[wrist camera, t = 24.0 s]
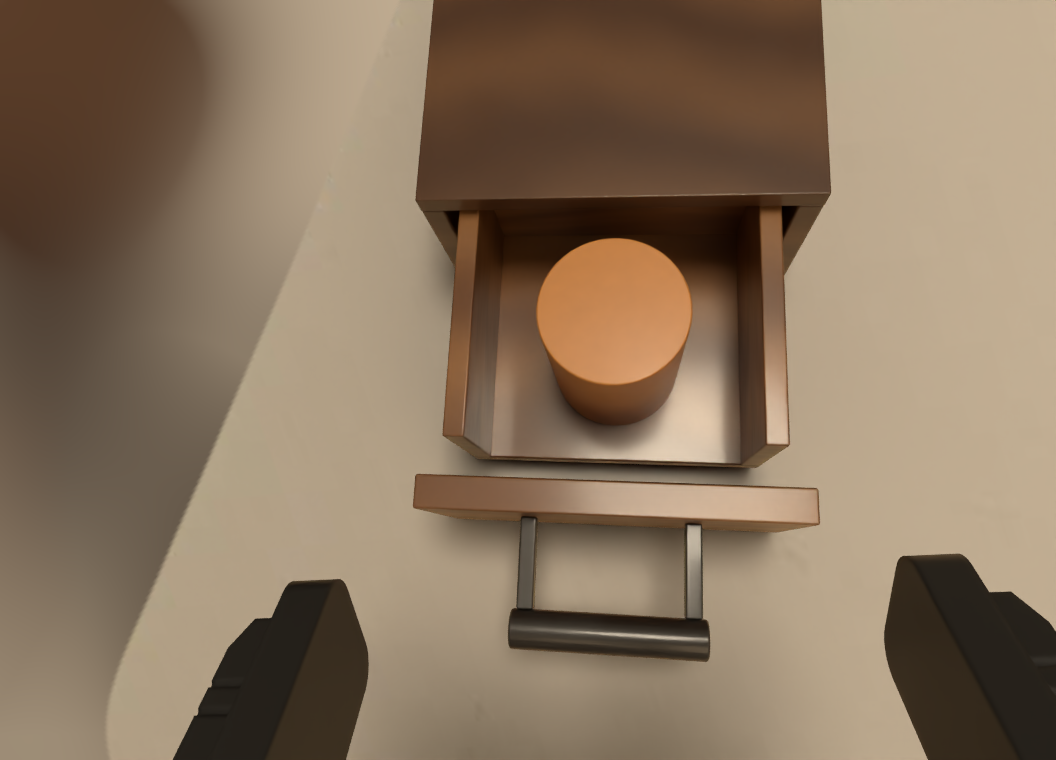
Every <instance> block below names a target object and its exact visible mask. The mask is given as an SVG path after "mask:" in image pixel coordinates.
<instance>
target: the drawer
mask: <svg viewBox="0 0 1056 760" xmlns="http://www.w3.org/2000/svg"><path fill="white" fill-rule="evenodd" d="M607 238H623V239H631V240H635V241H639V242H642V243H645V244H647V245H649V246H651V247H653V248H655V249H657V250H659V251H660V252H662V253H663V254H665V255H666V256H667V257H668V258H669V259H670V260H671V261H672V262H673V263H674V264H675V265H676V266H677V267H678V269H679V270H680V272H681V273H682V275H683V276H684V278H685V280H686V283H687V285H688V287H689V291H690V294H691V299H692V311H693V315H692V323H691V327H690V331H689V335H688V338H687V342H686V345H685V349H684V352H683V356H682V359H681V363H680V366H679V370H678V373H677V377H676V380H675V384H674V387H673V389H672V391H671V393H670V395H669V397H668V398H667V400H666V401H665V402H664V404H663V405H662V406H661V407H660V408H659V409H658V410H657V411H656V412H654V413H653V414H652V415H650V416H648V417H647V418H645V419H643V420H640V421H638V422H635V423H631V424H627V425H605V424H601V423H597V422H594V421H592V420H589V419H587V418H586V417H584V416H582V415H581V414H579V413H578V412H577V411H576V410H575V409H574V408H573V407H572V406H571V405H570V404H569V403H568V402H567V400H566V399H565V398H564V396H563V394H562V392H561V390H560V387H559V385H558V382H557V380H556V377H555V374H554V372H553V369H552V367H551V364H550V361H549V359H548V356H547V353H546V351H545V348H544V346H543V343H542V340H541V338H540V335H539V331H538V327H537V320H536V305H537V299H538V295H539V292H540V289H541V286H542V284H543V282H544V280H545V278H546V276H547V275H548V273H549V272H550V270H551V269H552V268H553V267H554V265H555V264H556V263H557V262H558V261H559V260H560V259H561V258H562V257H564V256H565V255H566V254H568V253H569V252H570V251H572V250H574V249H576V248H577V247H579V246H581V245H584V244H586V243H589V242H592V241H596V240H600V239H607ZM443 436H444V437H446V438H447V439H449V440H450V441H452V442H453V443H454V444H456V445H457V446H459V447H460V448H462V449H463V450H465V451H466V452H468V453H469V454H471V455H472V456H474V457H475V458H477V459H498V460H529V461H560V462H591V463H622V464H653V465H684V466H715V467H746V468H757V467H758V466H760V465H762V464H763V463H764V462H766V461H767V460H769V459H770V458H772V457H773V456H775V455H776V454H778V453H779V452H780V451H782V450H783V449H785V448H786V447H788V446H789V445H790V435H789V406H788V377H787V348H786V319H785V290H784V261H783V232H782V206H732V207H663V208H593V209H524V210H460V211H459V225H458V238H457V251H456V264H455V277H454V290H453V304H452V317H451V330H450V343H449V356H448V369H447V382H446V396H445V409H444V422H443ZM413 508H415V509H420V510H424V511H428V512H432V513H436V514H441V515H445V516H449V517H453V518H457V519H479V520H502V521H521V524H520V545H519V565H518V585H517V605H516V607H517V608H513V609H512V610H511V613H510V617H509V625H508V644H509V647H510V648H511V649H523V650H538V651H552V652H567V653H582V654H597V655H612V656H626V657H641V658H656V659H671V660H686V661H700V662H707V661H708V660H709V657H710V629H709V623H708V621H707V620H704V619H703V562H702V529H708V530H731V531H754V532H782V531H787V530H793V529H799V528H805V527H811V526H816V525H819V524H820V515H819V492H818V489H817V488H799V487H771V486H743V485H715V484H687V483H659V482H630V481H602V480H574V479H546V478H518V477H490V476H461V475H433V474H416V476H415V488H414V500H413ZM538 522H548V523H570V524H593V525H616V526H639V527H662V528H684V616H685V618H671V617H654V616H638V615H621V614H604V613H588V612H571V611H554V610H537V609H533V608H534V603H535V580H536V558H537V535H538Z"/></svg>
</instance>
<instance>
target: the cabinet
mask: <svg viewBox="0 0 1056 760" xmlns="http://www.w3.org/2000/svg"><path fill="white" fill-rule="evenodd" d="M830 194H831V182H830V162H829V143H828V124H827V104H826V85H825V66H824V46H823V27H822V8H821V0H434V2H433V13H432V24H431V35H430V46H429V57H428V68H427V79H426V90H425V101H424V112H423V123H422V134H421V145H420V156H419V166H418V177H417V188H416V199H415V200H416V202H417V204H418V205H419V207H420V209H421V211H423V213H424V215H425V217H426V218H427V220H428V222H429V223H430V225H431V227H432V229H433V230H434V232H435V234H436V235H437V237H438V239H439V241H440V242H441V244H442V246H443V248H444V249H445V251H446V253H447V254H448V256H449V258H450V260H451V261H452V263H453V265H454V266H455V264H456V251H457V238H458V225H459V211H460V210H524V209H593V208H663V207H732V206H782V232H783V261H784V275H785V273H786V271H787V270H788V268H789V266H790V264H791V263H792V261H793V259H794V257H795V255H796V254H797V252H798V250H799V248H800V247H801V245H802V243H803V241H804V239H805V238H806V236H807V234H808V232H809V231H810V229H811V227H812V225H813V223H814V222H815V220H816V218H817V216H818V215H819V213H820V211H821V209H822V208H823V206H824V205H825V203H826V201H827V200H828V198H829V196H830Z"/></svg>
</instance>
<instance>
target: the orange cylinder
mask: <svg viewBox="0 0 1056 760" xmlns="http://www.w3.org/2000/svg"><path fill="white" fill-rule="evenodd" d="M692 315H693V311H692V299H691V294H690V291H689V287H688V285H687V283H686V280H685V278H684V276H683V275H682V273H681V272H680V270H679V269H678V267H677V266H676V265H675V264H674V263H673V262H672V261H671V260H670V259H669V258H668V257H667V256H666V255H665V254H663V253H662V252H660V251H659V250H657V249H655V248H653V247H651V246H649V245H647V244H645V243H642V242H639V241H635V240H631V239H623V238H607V239H600V240H596V241H592V242H589V243H586V244H584V245H581V246H579V247H577V248H576V249H574V250H572V251H570V252H569V253H568V254H566V255H565V256H564V257H562V258H561V259H560V260H559V261H558V262H557V263H556V264H555V265H554V267H553V268H552V269H551V270H550V272H549V273H548V275H547V276H546V278H545V280H544V282H543V284H542V286H541V289H540V292H539V295H538V299H537V305H536V320H537V327H538V331H539V335H540V338H541V340H542V343H543V346H544V348H545V351H546V353H547V356H548V359H549V361H550V364H551V367H552V369H553V372H554V374H555V377H556V380H557V382H558V385H559V387H560V390H561V392H562V394H563V396H564V398H565V399H566V400H567V402H568V403H569V404H570V405H571V406H572V407H573V408H574V409H575V410H576V411H577V412H578V413H579V414H581V415H582V416H584V417H586V418H587V419H589V420H592V421H594V422H597V423H601V424H605V425H627V424H631V423H635V422H638V421H640V420H643V419H645V418H647V417H648V416H650V415H652V414H653V413H654V412H656V411H657V410H658V409H659V408H660V407H661V406H662V405H663V404H664V402H665V401H666V400H667V398H668V397H669V395H670V393H671V391H672V389H673V387H674V384H675V380H676V377H677V373H678V370H679V366H680V363H681V359H682V356H683V352H684V349H685V345H686V342H687V338H688V335H689V331H690V327H691V323H692Z"/></svg>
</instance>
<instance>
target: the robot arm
mask: <svg viewBox="0 0 1056 760" xmlns="http://www.w3.org/2000/svg"><path fill="white" fill-rule="evenodd" d="M884 643H885V651H886V657H887V661H888V665H889V669H890V672H891V675H892V677H893V680H894V682H895V684H896V687H897V689H898V691H899V694H900V696H901V698H902V701H903V703H904V705H905V707H906V710H907V712H908V714H909V717H910V719H911V721H912V724H913V726H914V728H915V731H916V733H917V735H918V738H919V740H920V742H921V745H922V747H923V749H924V752H925V754H926V756H927V759H928V760H1056V631H1055V630H1054V628H1053V627H1052V625H1051V624H1050V623H1049V622H1048V621H1047V620H1046V619H1045V618H1043V617H1042V616H1041V615H1040V614H1038V613H1037V612H1036V611H1035V610H1033V609H1032V608H1031V607H1030V606H1028V605H1027V604H1026V603H1025V602H1023V601H1022V600H1021V599H1019V598H1018V597H1017V596H1016V595H1014V594H1013V593H1012V592H989V591H988V589H987V588H986V586H985V585H984V583H983V582H982V580H981V578H980V577H979V575H978V574H977V572H976V571H975V569H974V567H973V566H972V564H971V563H970V562H969V560H968V559H967V558H966V557H965V556H963V555H961V554H941V555H918V556H902V557H900V559H899V560H898V562H897V566H896V571H895V576H894V581H893V587H892V592H891V598H890V603H889V608H888V614H887V619H886V624H885V631H884ZM368 666H369V662H368V651H367V646H366V642H365V639H364V636H363V633H362V630H361V627H360V625H359V622H358V619H357V616H356V613H355V610H354V607H353V604H352V601H351V598H350V595H349V592H348V589H347V587H346V584H345V583H344V582H343V581H342V580H341V579H333V580H310V581H292V582H290V583H289V584H288V585H287V586H286V588H285V590H284V591H283V594H282V596H281V598H280V600H279V602H278V605H277V607H276V609H275V611H274V613H273V616H272V618H262V619H255V620H254V621H253V622H252V623H251V624H250V625H249V626H248V627H247V628H246V629H245V630H244V631H243V633H242V634H241V635H240V636H239V637H238V638H237V639H236V640H235V641H234V642H233V643H232V644H231V645H230V646H229V647H228V649H227V651H226V653H225V655H224V657H223V659H222V661H221V663H220V665H219V667H218V669H217V671H216V673H215V675H214V677H213V679H212V686H211V688H208V690H207V692H206V694H205V696H204V698H203V700H202V702H201V704H200V706H199V708H198V715H197V716H194V718H193V720H192V722H191V724H190V726H189V728H188V730H187V732H186V734H185V736H184V738H183V740H182V742H181V744H180V746H179V748H178V750H177V752H176V754H175V756H174V758H173V760H346V757H347V753H348V750H349V746H350V743H351V739H352V736H353V732H354V729H355V725H356V722H357V718H358V714H359V711H360V707H361V704H362V700H363V697H364V693H365V690H366V685H367V679H368Z"/></svg>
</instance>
